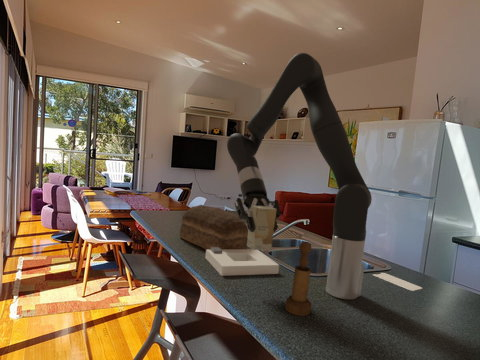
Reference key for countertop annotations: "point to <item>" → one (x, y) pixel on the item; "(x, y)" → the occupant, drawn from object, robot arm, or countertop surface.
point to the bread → (213, 228)
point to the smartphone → (397, 281)
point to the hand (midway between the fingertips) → (263, 230)
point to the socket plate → (240, 262)
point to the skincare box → (262, 228)
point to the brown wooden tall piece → (300, 285)
